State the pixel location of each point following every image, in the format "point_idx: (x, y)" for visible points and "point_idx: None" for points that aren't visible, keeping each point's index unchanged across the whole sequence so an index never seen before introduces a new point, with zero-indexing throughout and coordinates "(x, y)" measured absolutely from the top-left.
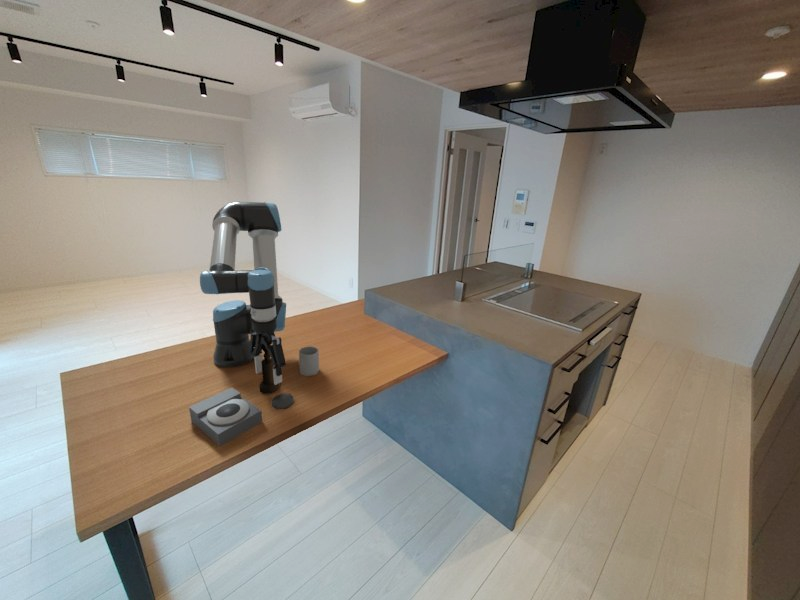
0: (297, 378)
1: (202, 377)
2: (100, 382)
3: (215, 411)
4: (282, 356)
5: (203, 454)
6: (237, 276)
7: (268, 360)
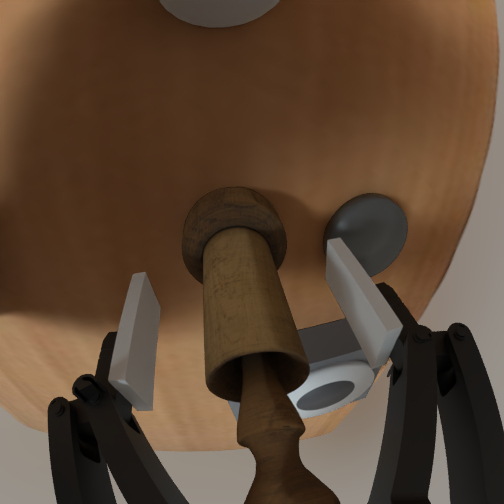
0: (241, 68)
1: (42, 355)
2: (38, 421)
3: (304, 411)
4: (484, 398)
5: None
6: None
7: (282, 389)
